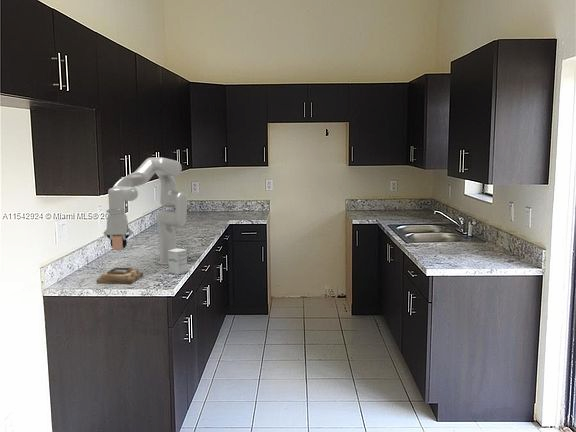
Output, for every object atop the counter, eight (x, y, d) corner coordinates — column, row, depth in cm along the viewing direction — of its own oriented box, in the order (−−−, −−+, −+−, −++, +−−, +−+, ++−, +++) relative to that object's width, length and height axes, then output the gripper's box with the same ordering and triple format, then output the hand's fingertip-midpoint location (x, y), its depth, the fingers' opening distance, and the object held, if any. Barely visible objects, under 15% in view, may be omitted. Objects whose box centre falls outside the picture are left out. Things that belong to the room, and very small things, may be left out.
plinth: (110, 275, 283) (110, 266, 282) (143, 276, 281) (142, 266, 280) (96, 283, 267) (96, 273, 266) (130, 284, 265) (130, 274, 264)
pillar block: (115, 248, 274) (114, 234, 273) (125, 248, 274) (124, 234, 273) (112, 250, 269) (111, 236, 268) (122, 249, 269) (121, 236, 268)
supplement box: (168, 272, 288) (167, 250, 286) (178, 270, 294) (177, 247, 292) (178, 274, 284) (177, 251, 282) (187, 271, 290) (187, 249, 288)
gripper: (97, 213, 265) (99, 248, 268) (131, 213, 266) (133, 248, 268) (102, 211, 273) (104, 246, 275) (135, 211, 273) (137, 245, 276)
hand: (118, 246), depth 272 cm, fingers closed on pillar block, 5 cm apart
